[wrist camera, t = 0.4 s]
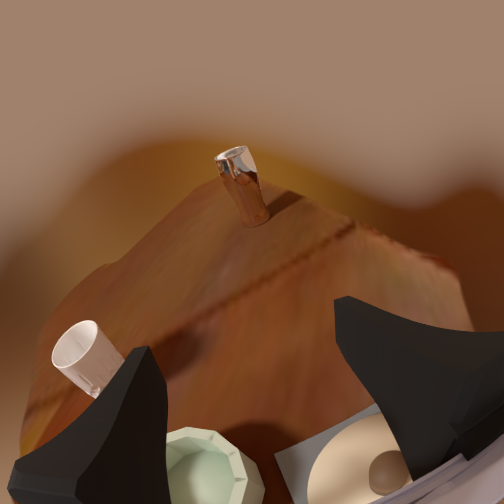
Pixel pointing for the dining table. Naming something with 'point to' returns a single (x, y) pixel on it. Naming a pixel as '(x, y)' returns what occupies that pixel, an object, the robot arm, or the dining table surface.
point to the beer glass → (243, 185)
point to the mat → (311, 456)
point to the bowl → (210, 470)
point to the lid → (358, 465)
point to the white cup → (87, 357)
